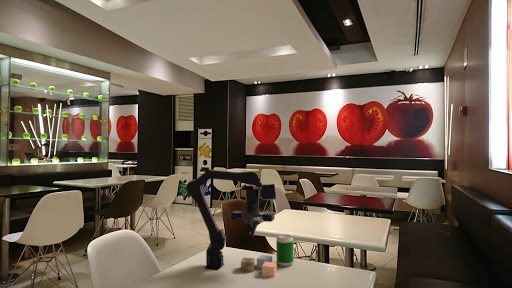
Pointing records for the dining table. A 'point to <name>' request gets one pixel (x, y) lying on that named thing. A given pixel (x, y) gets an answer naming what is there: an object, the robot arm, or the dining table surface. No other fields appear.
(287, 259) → the soda can
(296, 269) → the dining table surface
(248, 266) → the walnut block
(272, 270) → the terracotta block
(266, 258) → the slate block
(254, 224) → the robot arm
